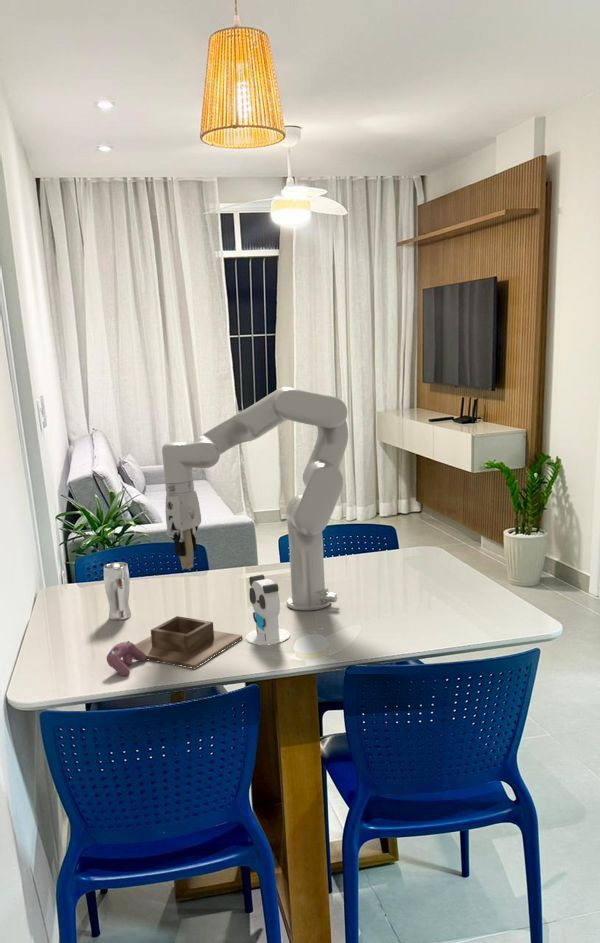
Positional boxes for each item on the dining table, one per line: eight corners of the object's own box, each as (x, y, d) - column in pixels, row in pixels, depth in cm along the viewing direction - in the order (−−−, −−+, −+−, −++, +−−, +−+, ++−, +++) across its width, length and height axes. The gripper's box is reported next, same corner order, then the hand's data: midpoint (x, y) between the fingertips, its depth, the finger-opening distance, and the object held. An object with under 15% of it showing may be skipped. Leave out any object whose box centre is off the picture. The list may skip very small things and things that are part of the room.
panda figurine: (238, 633, 198) (234, 577, 196) (278, 625, 202) (275, 570, 200) (254, 648, 187) (251, 590, 185) (297, 639, 192) (294, 582, 189)
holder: (242, 639, 194) (241, 618, 193) (194, 669, 177) (193, 646, 176) (174, 627, 204) (172, 607, 204) (122, 654, 187) (121, 633, 186)
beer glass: (137, 614, 217) (133, 563, 214) (122, 622, 210) (117, 569, 208) (118, 611, 220) (113, 561, 217) (102, 619, 213) (97, 567, 211)
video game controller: (134, 665, 185) (120, 640, 185) (149, 658, 183) (135, 632, 183) (114, 682, 175) (99, 656, 175) (129, 675, 174) (114, 648, 174)
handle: (200, 568, 208) (195, 514, 206) (177, 571, 207) (171, 517, 204) (197, 563, 213) (192, 511, 210) (174, 567, 211) (169, 514, 209)
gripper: (171, 494, 197) (178, 562, 200) (209, 482, 211) (215, 546, 214) (148, 493, 201) (155, 560, 204) (187, 481, 215) (193, 544, 218)
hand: (186, 552), depth 209 cm, fingers closed on handle, 4 cm apart
